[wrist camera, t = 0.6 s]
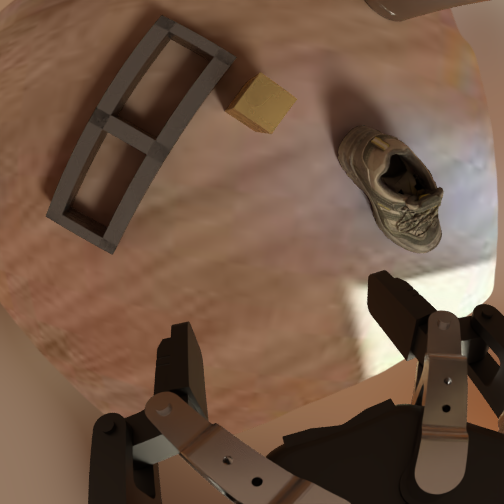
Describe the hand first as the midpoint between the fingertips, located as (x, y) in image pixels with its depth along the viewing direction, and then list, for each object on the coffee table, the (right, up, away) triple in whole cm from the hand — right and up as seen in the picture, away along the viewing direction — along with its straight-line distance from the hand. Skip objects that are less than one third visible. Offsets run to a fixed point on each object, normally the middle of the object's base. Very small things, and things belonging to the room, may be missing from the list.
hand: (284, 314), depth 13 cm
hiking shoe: (+17, +11, +25) cm, 32 cm away
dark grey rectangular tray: (-14, +15, +16) cm, 26 cm away
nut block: (-1, +18, +17) cm, 25 cm away
